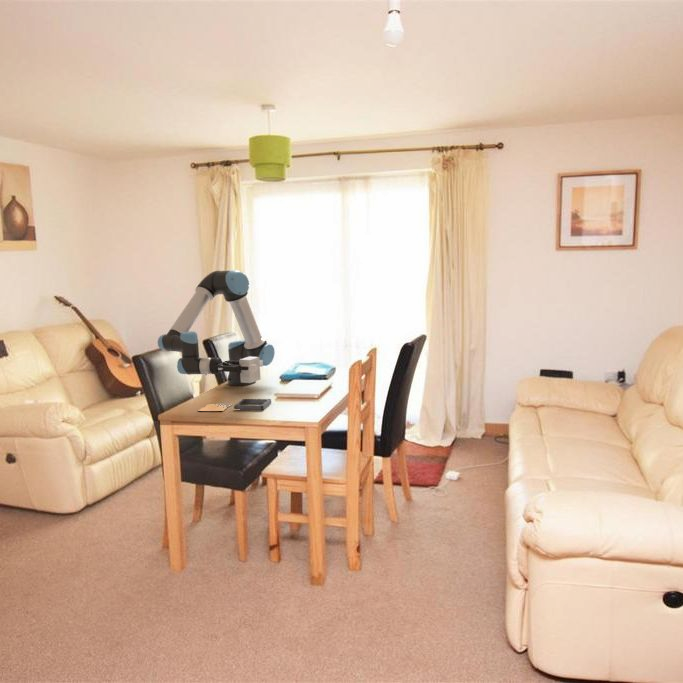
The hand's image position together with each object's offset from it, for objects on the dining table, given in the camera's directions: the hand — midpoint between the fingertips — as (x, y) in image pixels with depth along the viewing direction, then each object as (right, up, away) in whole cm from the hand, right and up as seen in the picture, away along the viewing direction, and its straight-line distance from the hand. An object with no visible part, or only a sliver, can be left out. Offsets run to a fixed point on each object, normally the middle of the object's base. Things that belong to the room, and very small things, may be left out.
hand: (259, 365), depth 257 cm
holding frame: (-3, -19, +4) cm, 19 cm away
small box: (-4, -7, +2) cm, 8 cm away
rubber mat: (-21, -19, +4) cm, 29 cm away
